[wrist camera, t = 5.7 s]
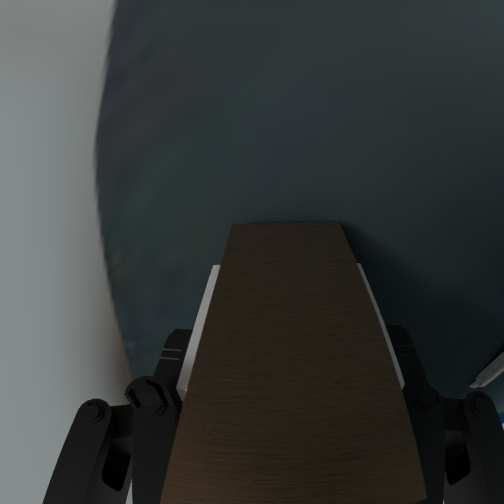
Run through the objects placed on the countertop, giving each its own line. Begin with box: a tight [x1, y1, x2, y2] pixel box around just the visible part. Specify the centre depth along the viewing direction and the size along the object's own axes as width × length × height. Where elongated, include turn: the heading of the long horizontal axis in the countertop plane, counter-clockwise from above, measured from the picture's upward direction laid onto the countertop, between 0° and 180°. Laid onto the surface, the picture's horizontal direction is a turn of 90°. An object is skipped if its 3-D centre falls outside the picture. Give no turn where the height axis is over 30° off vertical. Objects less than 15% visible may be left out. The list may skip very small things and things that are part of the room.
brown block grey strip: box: [160, 223, 427, 504], centre depth 15 cm, size 25×5×12 cm, turn 3°
